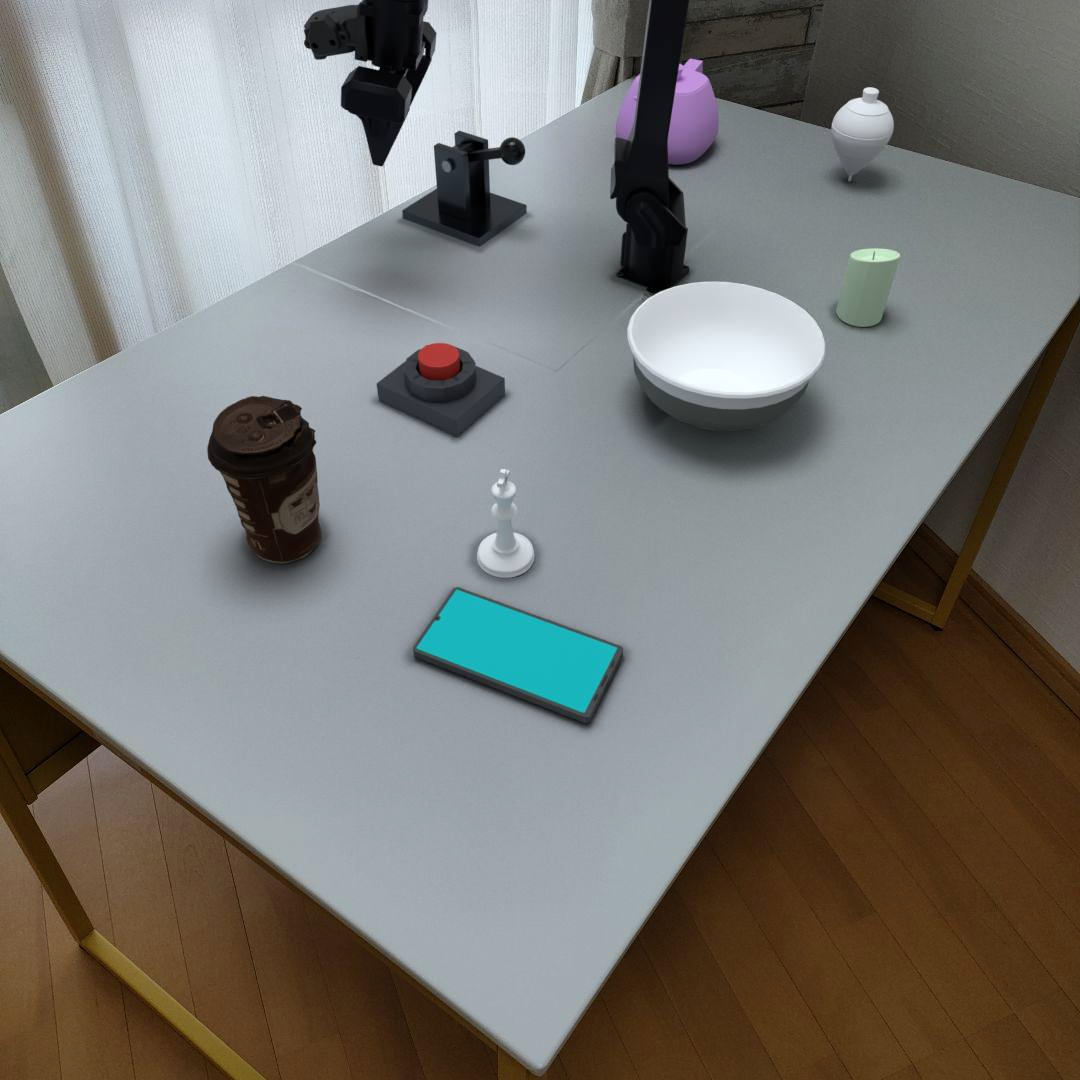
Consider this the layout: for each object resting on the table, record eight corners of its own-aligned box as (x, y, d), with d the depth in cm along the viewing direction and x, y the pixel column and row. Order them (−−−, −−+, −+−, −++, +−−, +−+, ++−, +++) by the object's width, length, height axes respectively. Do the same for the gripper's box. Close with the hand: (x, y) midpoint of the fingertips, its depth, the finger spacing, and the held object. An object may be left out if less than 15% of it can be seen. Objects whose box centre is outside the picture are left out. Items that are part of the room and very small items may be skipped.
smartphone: (588, 718, 73) (411, 649, 77) (588, 724, 74) (412, 656, 78) (625, 646, 78) (455, 585, 82) (624, 652, 78) (456, 591, 83)
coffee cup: (347, 508, 89) (325, 393, 80) (325, 577, 84) (298, 462, 74) (253, 501, 90) (220, 386, 81) (224, 569, 84) (184, 454, 75)
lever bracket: (527, 215, 126) (526, 139, 119) (479, 249, 120) (476, 172, 113) (452, 189, 130) (447, 115, 123) (402, 221, 125) (394, 145, 118)
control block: (505, 395, 101) (504, 363, 98) (457, 437, 96) (454, 405, 93) (428, 361, 105) (425, 329, 102) (378, 400, 100) (373, 368, 97)
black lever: (533, 158, 115) (526, 132, 114) (518, 168, 114) (510, 141, 112) (464, 165, 122) (456, 141, 120) (449, 175, 120) (441, 150, 119)
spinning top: (834, 162, 136) (855, 72, 127) (887, 178, 133) (912, 86, 124) (810, 184, 132) (829, 92, 123) (864, 200, 129) (888, 107, 120)
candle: (827, 306, 112) (843, 240, 106) (866, 299, 113) (884, 233, 107) (850, 331, 109) (868, 264, 103) (890, 323, 110) (910, 256, 104)
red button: (468, 366, 98) (467, 351, 97) (443, 386, 96) (441, 372, 95) (436, 352, 100) (435, 337, 98) (411, 372, 97) (409, 357, 96)
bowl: (830, 460, 94) (850, 391, 88) (634, 469, 93) (641, 399, 87) (783, 344, 107) (798, 277, 101) (611, 350, 106) (616, 283, 100)
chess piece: (542, 543, 87) (543, 458, 79) (523, 584, 83) (522, 498, 76) (489, 530, 88) (485, 444, 80) (468, 569, 84) (462, 484, 77)
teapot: (586, 166, 135) (589, 83, 127) (651, 112, 147) (658, 32, 139) (676, 190, 130) (685, 105, 122) (735, 132, 142) (747, 51, 134)
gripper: (335, -58, 102) (333, 94, 113) (285, 6, 89) (289, 170, 100) (443, -34, 102) (430, 114, 114) (409, 32, 89) (398, 192, 101)
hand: (386, 145), depth 107 cm, fingers open, 9 cm apart
